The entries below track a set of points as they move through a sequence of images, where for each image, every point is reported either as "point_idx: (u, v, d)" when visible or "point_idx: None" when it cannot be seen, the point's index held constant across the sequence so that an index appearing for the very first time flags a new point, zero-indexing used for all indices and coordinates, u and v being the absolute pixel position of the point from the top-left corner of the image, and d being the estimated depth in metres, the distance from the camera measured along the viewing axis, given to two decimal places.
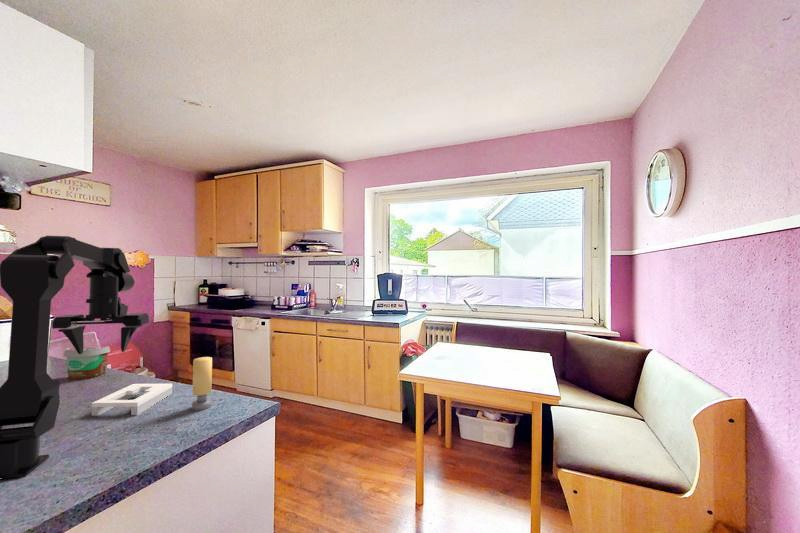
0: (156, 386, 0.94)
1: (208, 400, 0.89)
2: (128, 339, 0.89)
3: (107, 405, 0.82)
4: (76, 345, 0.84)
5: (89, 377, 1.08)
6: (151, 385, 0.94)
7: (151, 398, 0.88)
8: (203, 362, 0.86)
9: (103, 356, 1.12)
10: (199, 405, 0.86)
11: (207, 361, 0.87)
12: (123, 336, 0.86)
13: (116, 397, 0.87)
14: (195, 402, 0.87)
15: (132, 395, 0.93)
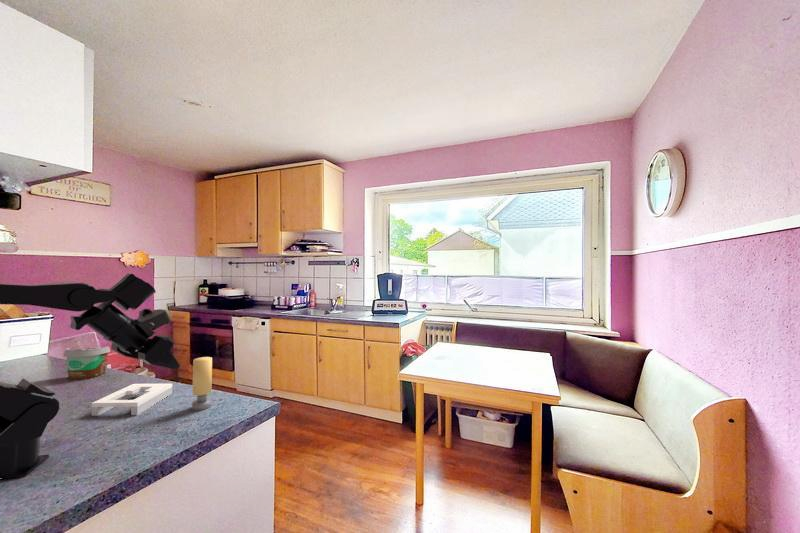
0: (156, 386, 0.94)
1: (208, 400, 0.89)
2: (171, 360, 0.77)
3: (107, 405, 0.82)
4: None
5: (89, 377, 1.08)
6: (151, 385, 0.94)
7: (151, 398, 0.88)
8: (203, 362, 0.86)
9: (103, 356, 1.12)
10: (199, 405, 0.86)
11: (207, 361, 0.87)
12: (157, 365, 0.75)
13: (116, 397, 0.87)
14: (195, 402, 0.87)
15: (132, 395, 0.93)
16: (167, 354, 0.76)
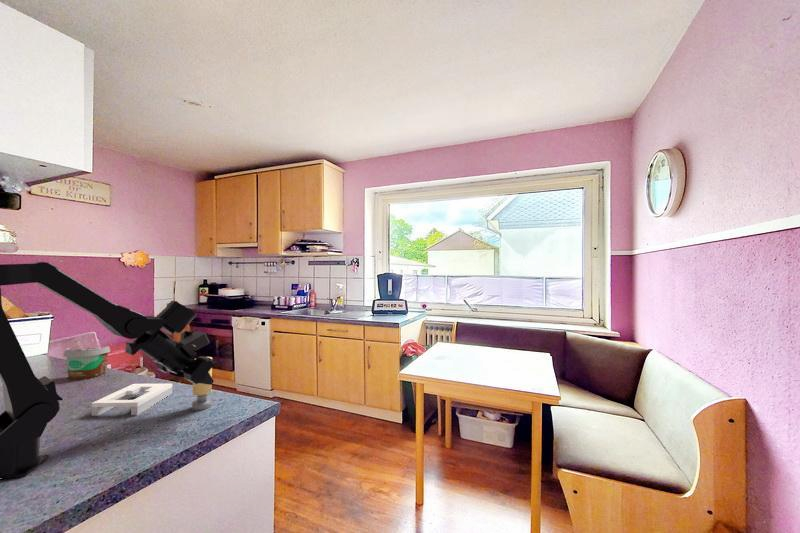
0: (156, 386, 0.94)
1: (208, 400, 0.89)
2: (206, 376, 0.86)
3: (107, 405, 0.82)
4: None
5: (89, 377, 1.08)
6: (151, 385, 0.94)
7: (151, 398, 0.88)
8: None
9: (103, 356, 1.12)
10: (199, 405, 0.86)
11: None
12: None
13: (116, 397, 0.87)
14: (195, 402, 0.87)
15: (132, 395, 0.93)
16: None
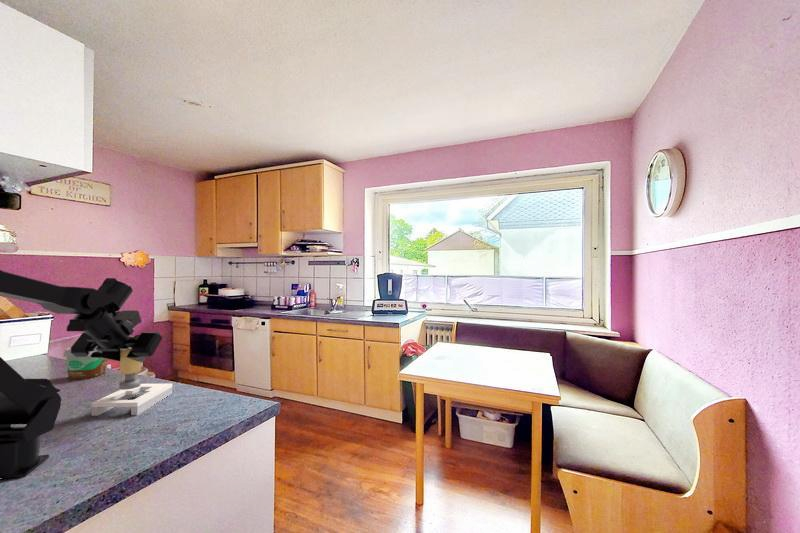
0: (156, 386, 0.94)
1: (136, 379, 0.89)
2: None
3: (107, 405, 0.82)
4: (116, 360, 0.86)
5: (89, 377, 1.08)
6: (151, 385, 0.94)
7: (151, 398, 0.88)
8: None
9: None
10: (132, 383, 0.86)
11: None
12: (133, 359, 0.84)
13: (116, 397, 0.87)
14: (123, 382, 0.86)
15: (132, 395, 0.93)
16: None
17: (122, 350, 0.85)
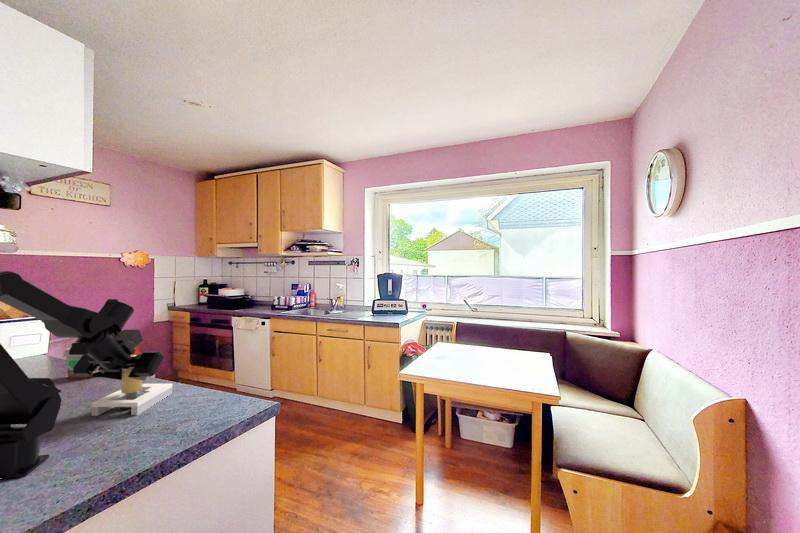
0: (156, 386, 0.94)
1: None
2: None
3: (107, 405, 0.82)
4: (118, 379, 0.86)
5: (89, 377, 1.08)
6: (151, 385, 0.94)
7: (151, 398, 0.88)
8: None
9: None
10: None
11: None
12: (135, 378, 0.85)
13: (116, 397, 0.87)
14: None
15: None
16: None
17: None
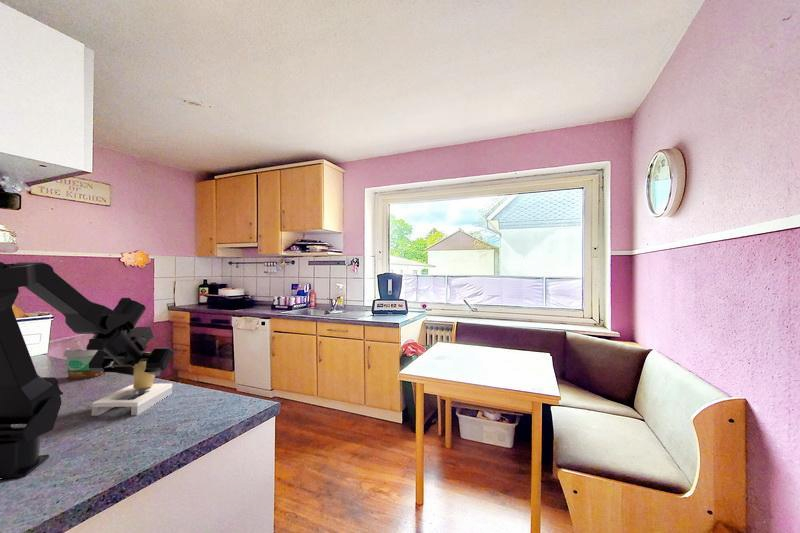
0: (156, 386, 0.94)
1: None
2: None
3: (107, 405, 0.82)
4: (126, 374, 0.91)
5: (89, 377, 1.08)
6: None
7: (151, 398, 0.88)
8: None
9: None
10: None
11: None
12: (150, 373, 0.89)
13: (116, 397, 0.87)
14: (136, 396, 0.91)
15: (132, 395, 0.93)
16: None
17: (136, 366, 0.90)
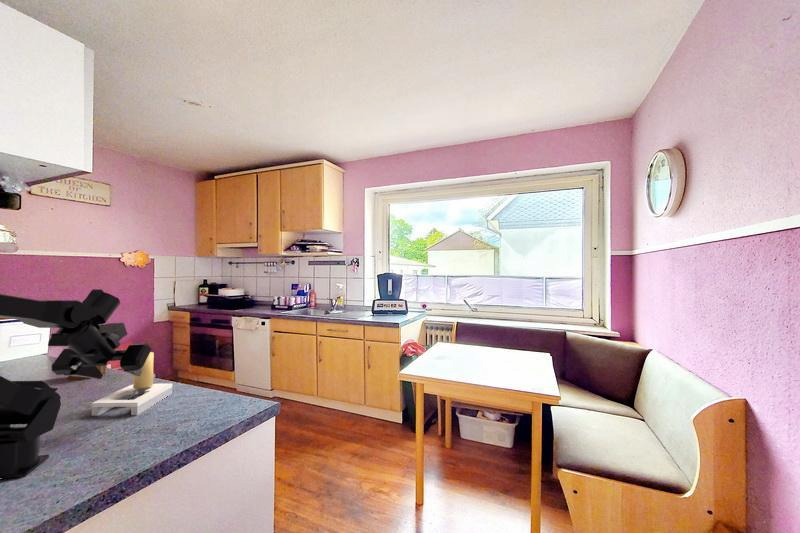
0: (156, 386, 0.94)
1: None
2: None
3: (107, 405, 0.82)
4: (91, 376, 0.81)
5: None
6: None
7: (151, 398, 0.88)
8: (149, 356, 0.91)
9: None
10: None
11: (152, 355, 0.92)
12: (131, 372, 0.81)
13: (116, 397, 0.87)
14: (136, 396, 0.91)
15: (132, 395, 0.93)
16: None
17: None
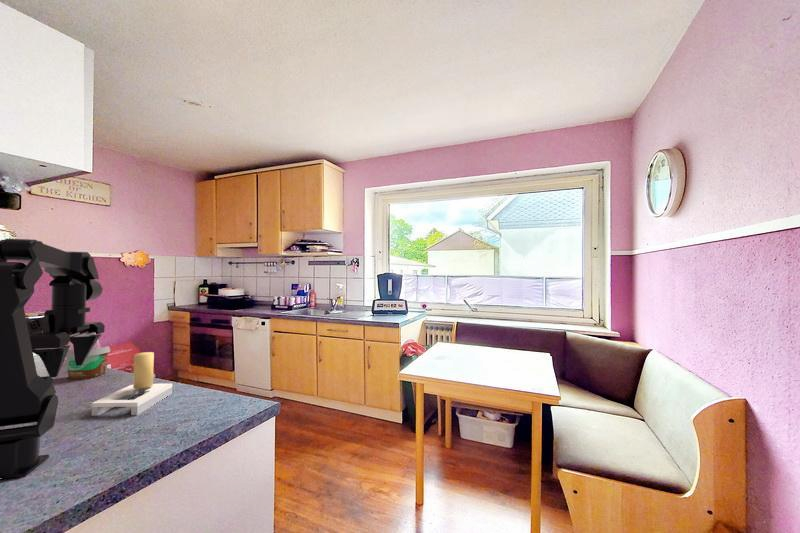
0: (156, 386, 0.94)
1: None
2: None
3: (107, 405, 0.82)
4: (60, 365, 0.72)
5: (89, 377, 1.08)
6: None
7: (151, 398, 0.88)
8: (149, 356, 0.92)
9: (103, 356, 1.12)
10: None
11: (152, 355, 0.92)
12: (92, 346, 0.82)
13: (116, 397, 0.87)
14: (136, 396, 0.91)
15: (132, 395, 0.93)
16: None
17: (136, 366, 0.90)
